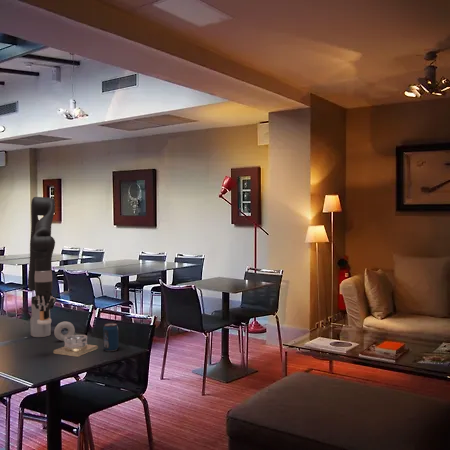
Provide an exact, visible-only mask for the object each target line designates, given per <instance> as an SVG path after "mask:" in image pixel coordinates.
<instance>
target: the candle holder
mask: <svg viewBox="0 0 450 450" xmlns="http://www.w3.org/2000/svg"><path fill="white" fill-rule="evenodd" d="M63 342H64V346H61V347H59V348H55V349H53V354H54V355H62V356H70V357H78V358H79V357H81V356H83V355H86V354H88V353H90V352H93V351H96V350H98V349H99V346H98V345H96V344H95V345H94V344H88V335H86V334H74V335H71V336H67V337H65V338H64V341H63Z"/></svg>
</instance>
